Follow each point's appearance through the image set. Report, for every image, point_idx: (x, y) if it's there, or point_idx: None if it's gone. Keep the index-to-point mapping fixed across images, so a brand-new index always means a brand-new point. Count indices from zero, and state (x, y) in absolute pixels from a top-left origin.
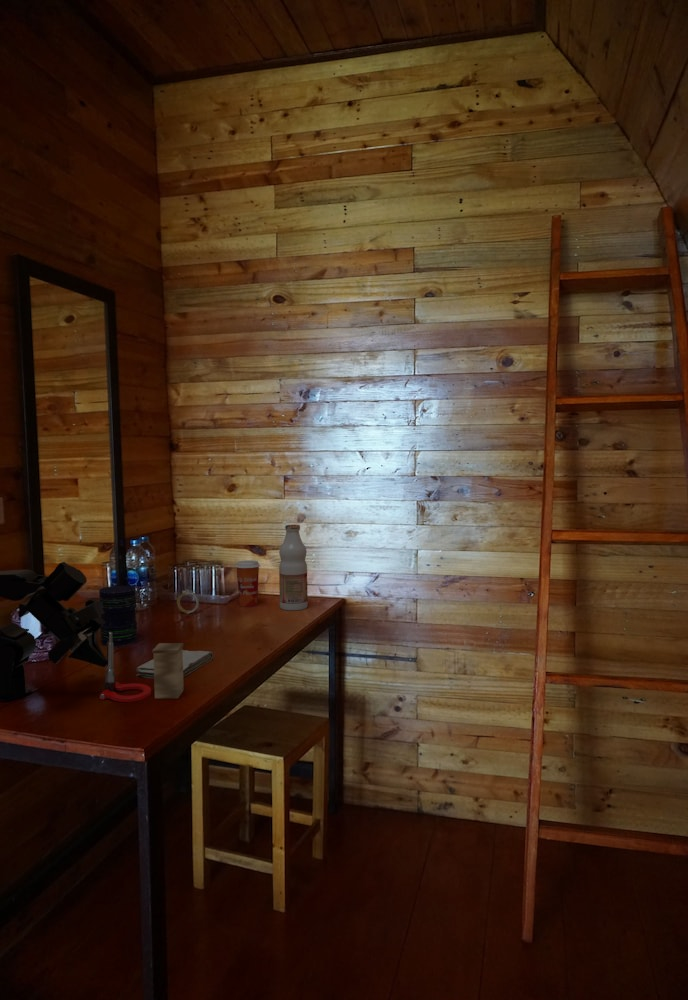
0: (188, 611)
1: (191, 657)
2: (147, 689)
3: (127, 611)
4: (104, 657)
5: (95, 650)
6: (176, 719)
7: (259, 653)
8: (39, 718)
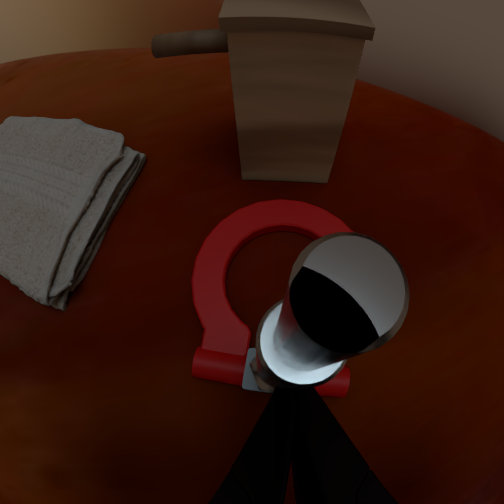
0: None
1: (28, 137)
2: (264, 213)
3: None
4: (279, 413)
5: (362, 493)
6: (451, 121)
7: (33, 68)
8: (478, 500)
